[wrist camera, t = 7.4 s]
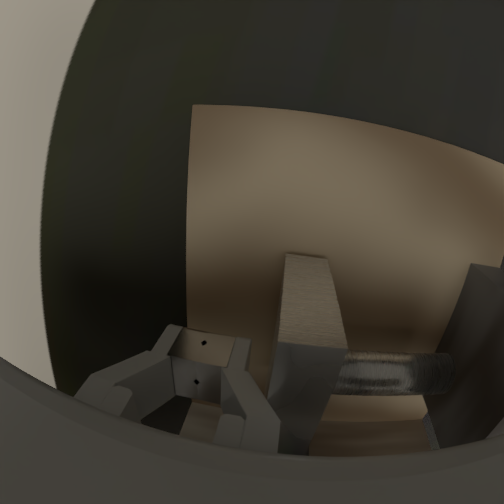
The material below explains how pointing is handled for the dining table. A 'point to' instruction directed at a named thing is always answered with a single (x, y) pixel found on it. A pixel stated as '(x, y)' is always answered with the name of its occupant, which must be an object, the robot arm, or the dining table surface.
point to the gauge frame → (352, 261)
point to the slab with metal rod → (332, 358)
